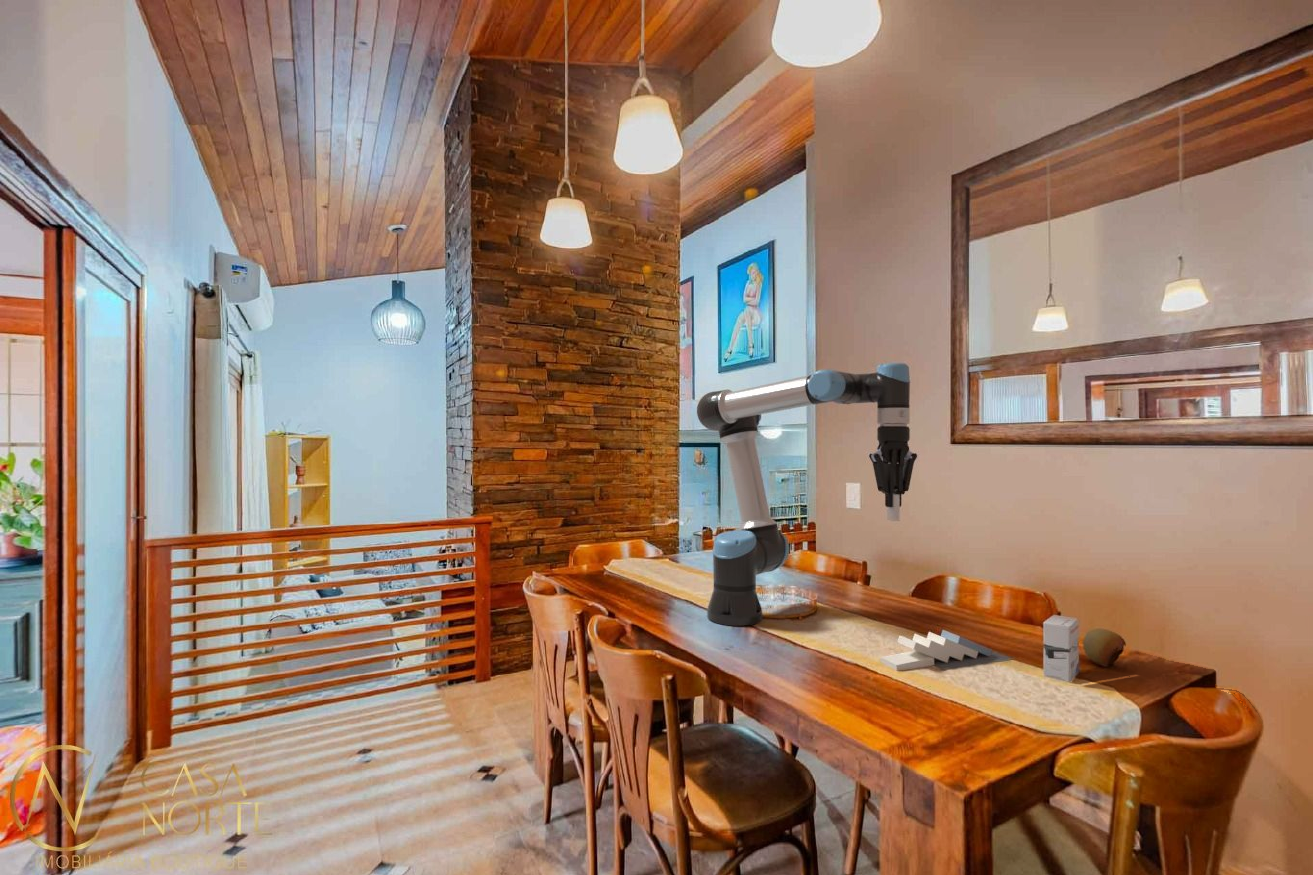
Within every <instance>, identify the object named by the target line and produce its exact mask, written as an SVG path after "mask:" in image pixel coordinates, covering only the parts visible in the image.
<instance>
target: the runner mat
mask: <svg viewBox="0 0 1313 875" xmlns="http://www.w3.org/2000/svg"><path fill="white" fill-rule="evenodd" d="M1012 660H1013V661H1014V660H1015V658H1013V657H1010V656H1007V655H1005V654H1003V653H1000V652H998V651H995V650H992V651H991V654H990V656H987V655H985V654H982V653H980V652H978V654H977V657H976V658H973V657H971V656H968V655H966V654H964V656H963V659H962V661H961V660H959V659H956V658H954V657H951V656H949V659H948V662H947V663H946V662H944V661H941V660H939V659H936V658H934V665H932V666H933V667H935V668H937V669H939V670H942V671H948V670H954V669H955V670H956V669H962V668H969V667H973V666H981V665H987V664H993V663H999V662H1000V663H1001V662H1006V661H1007V662H1008V661H1012Z"/></svg>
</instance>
